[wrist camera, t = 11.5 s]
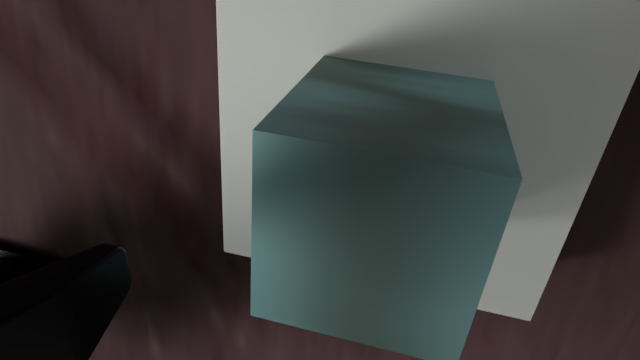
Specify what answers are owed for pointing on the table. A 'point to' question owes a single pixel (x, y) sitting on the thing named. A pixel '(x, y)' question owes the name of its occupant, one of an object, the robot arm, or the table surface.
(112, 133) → the table surface
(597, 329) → the table surface
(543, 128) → the base block
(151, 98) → the table surface
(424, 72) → the teal block
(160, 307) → the table surface
